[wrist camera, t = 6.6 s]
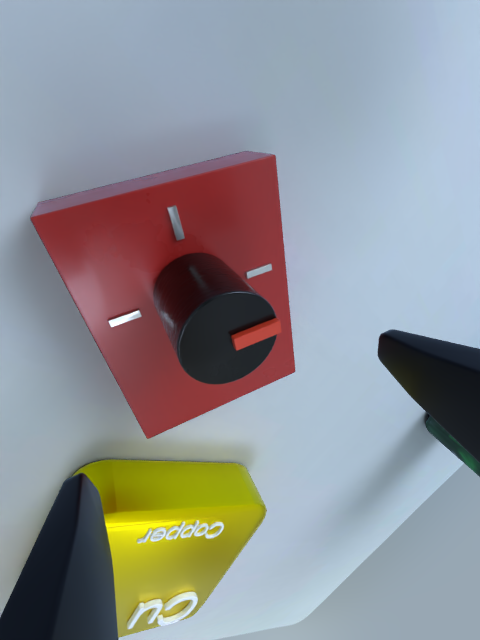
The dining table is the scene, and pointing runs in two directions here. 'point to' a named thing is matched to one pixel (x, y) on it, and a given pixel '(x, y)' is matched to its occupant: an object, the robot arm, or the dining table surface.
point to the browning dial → (214, 319)
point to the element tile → (172, 533)
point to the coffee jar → (452, 445)
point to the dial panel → (153, 256)
